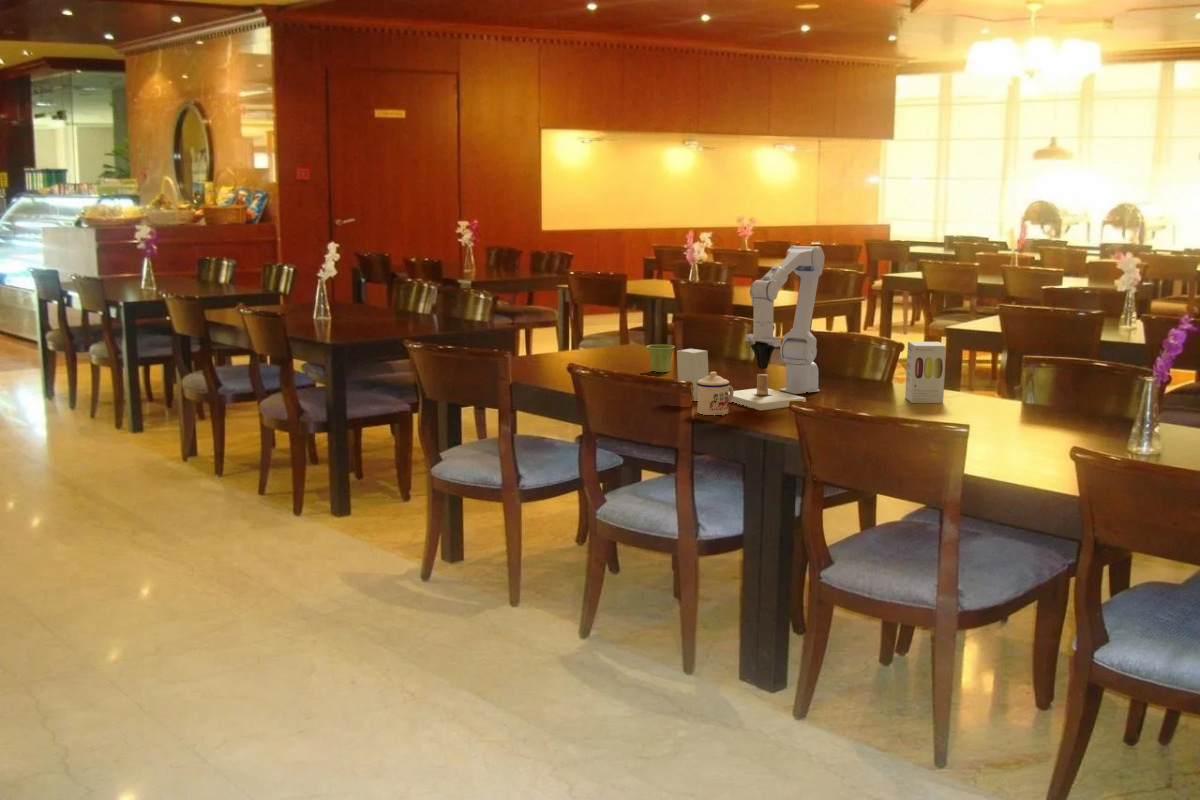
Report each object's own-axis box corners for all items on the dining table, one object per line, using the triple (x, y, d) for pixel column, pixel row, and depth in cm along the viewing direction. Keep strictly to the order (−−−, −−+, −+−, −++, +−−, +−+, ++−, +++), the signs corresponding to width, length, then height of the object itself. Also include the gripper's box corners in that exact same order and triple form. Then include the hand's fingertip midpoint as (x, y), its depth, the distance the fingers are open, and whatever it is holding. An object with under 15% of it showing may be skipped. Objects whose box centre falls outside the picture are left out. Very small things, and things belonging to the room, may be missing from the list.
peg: (762, 400, 354) (763, 373, 353) (770, 402, 352) (770, 375, 350) (754, 401, 353) (754, 374, 351) (761, 403, 350) (761, 376, 348)
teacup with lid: (711, 418, 330) (711, 376, 328) (689, 413, 338) (689, 371, 335) (743, 412, 338) (744, 371, 335) (721, 407, 345) (721, 367, 343)
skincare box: (709, 400, 355) (710, 350, 353) (693, 402, 352) (693, 352, 349) (692, 396, 362) (692, 347, 360) (676, 398, 359) (676, 349, 356)
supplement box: (910, 403, 347) (912, 345, 344) (904, 397, 356) (906, 341, 353) (944, 403, 347) (946, 345, 343) (937, 397, 356) (939, 340, 353)
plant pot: (656, 368, 414) (656, 343, 412) (679, 371, 408) (679, 345, 407) (641, 372, 406) (641, 347, 405) (664, 374, 401) (664, 349, 399)
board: (764, 393, 364) (764, 387, 364) (805, 404, 347) (805, 397, 347) (720, 399, 357) (720, 392, 357) (760, 410, 340) (760, 403, 339)
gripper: (737, 320, 352) (737, 366, 355) (767, 325, 340) (766, 373, 342) (757, 318, 355) (756, 364, 358) (787, 323, 343) (786, 370, 345)
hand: (762, 368), depth 350 cm, fingers closed
